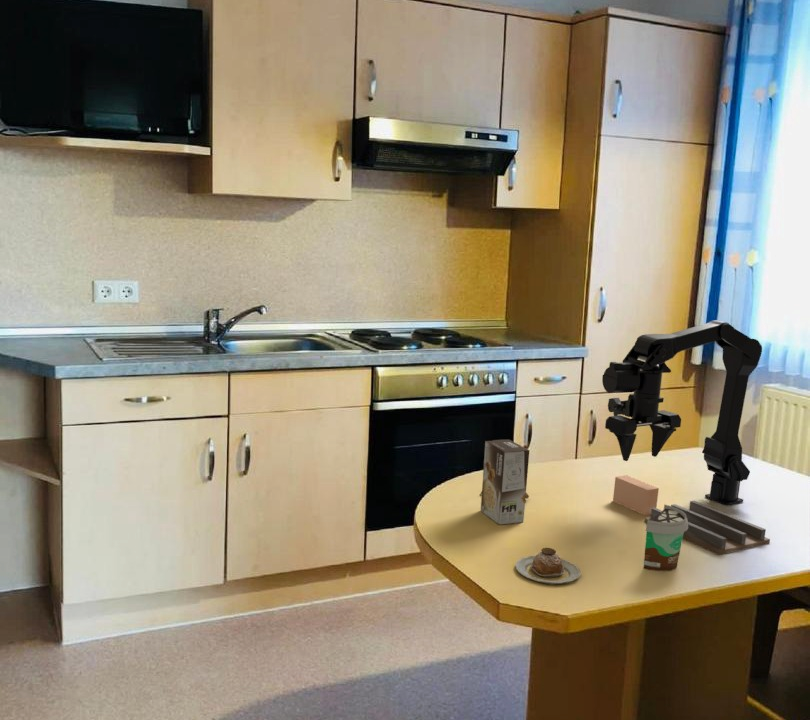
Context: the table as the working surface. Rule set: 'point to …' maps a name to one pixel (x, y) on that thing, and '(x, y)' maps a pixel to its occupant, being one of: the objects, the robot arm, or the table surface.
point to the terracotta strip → (635, 494)
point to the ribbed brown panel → (717, 529)
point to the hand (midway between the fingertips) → (639, 458)
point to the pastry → (548, 567)
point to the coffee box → (504, 481)
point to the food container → (664, 539)
